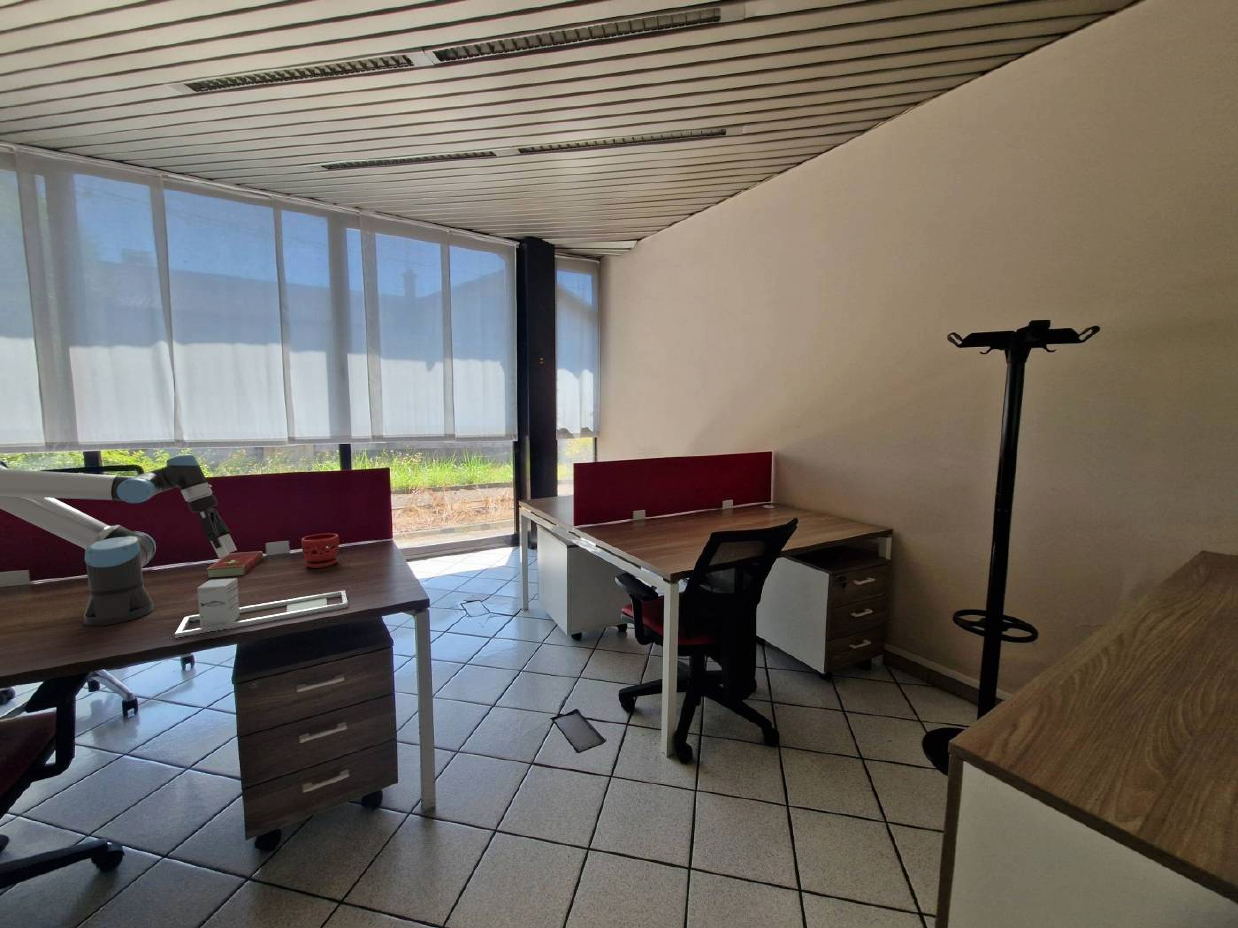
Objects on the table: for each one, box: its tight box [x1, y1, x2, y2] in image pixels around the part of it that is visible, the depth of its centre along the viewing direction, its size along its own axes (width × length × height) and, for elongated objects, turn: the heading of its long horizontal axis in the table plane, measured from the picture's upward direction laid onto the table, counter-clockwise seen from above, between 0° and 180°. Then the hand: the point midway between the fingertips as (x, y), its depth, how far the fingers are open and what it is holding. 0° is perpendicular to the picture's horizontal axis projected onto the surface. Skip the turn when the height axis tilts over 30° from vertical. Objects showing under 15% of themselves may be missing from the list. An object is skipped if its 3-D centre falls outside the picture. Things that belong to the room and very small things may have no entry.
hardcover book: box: [205, 550, 264, 579], centre depth 197 cm, size 12×21×4 cm, turn 20°
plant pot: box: [300, 533, 340, 569], centre depth 201 cm, size 13×13×12 cm
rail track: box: [174, 589, 349, 639], centre depth 154 cm, size 42×13×2 cm, turn 122°
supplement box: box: [196, 577, 240, 628], centre depth 147 cm, size 7×7×13 cm
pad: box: [285, 598, 328, 613], centre depth 159 cm, size 11×10×1 cm
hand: (228, 554), depth 171 cm, fingers open, 13 cm apart
